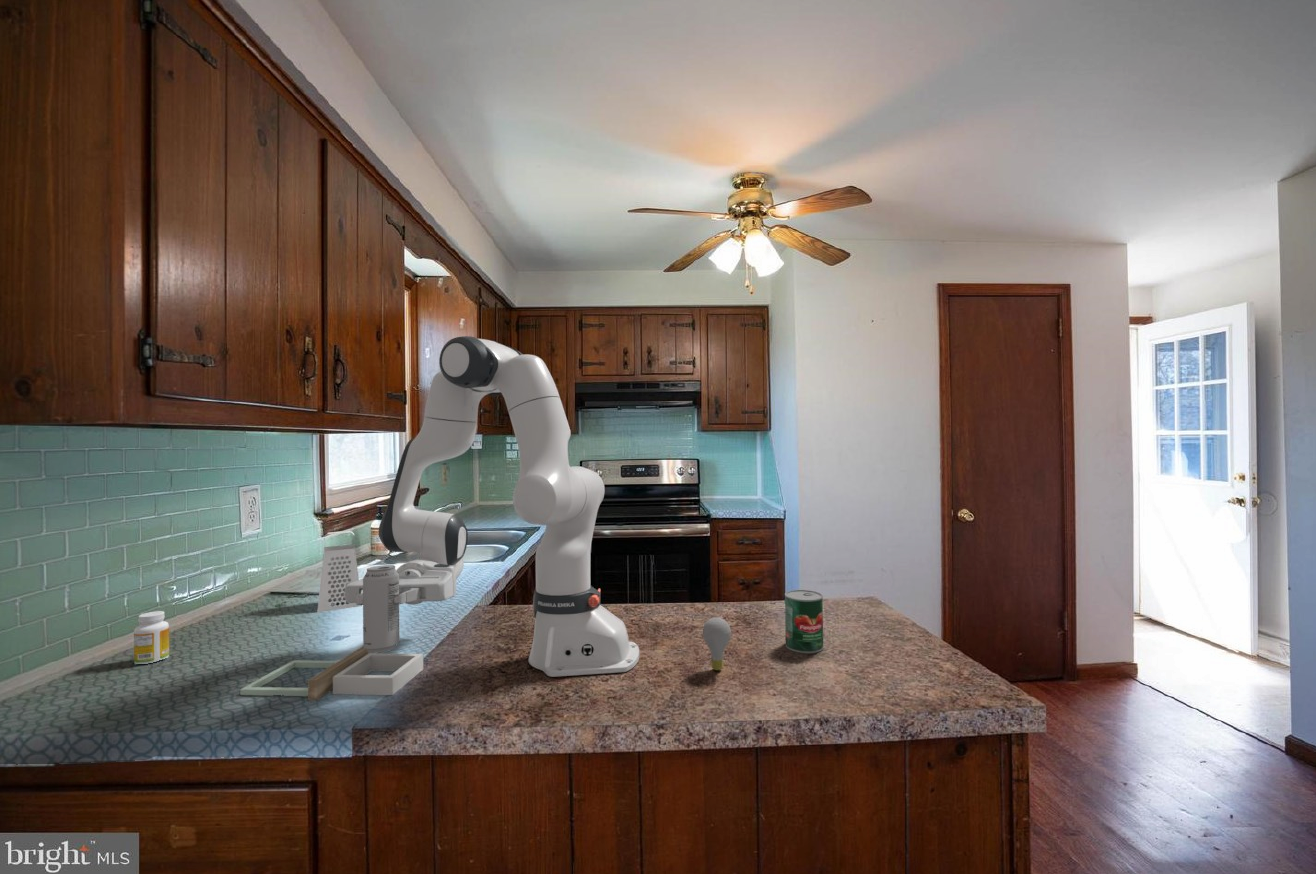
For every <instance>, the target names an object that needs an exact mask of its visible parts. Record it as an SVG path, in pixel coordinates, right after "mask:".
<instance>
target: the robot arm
mask: <svg viewBox="0 0 1316 874" xmlns="http://www.w3.org/2000/svg"><path fill="white" fill-rule="evenodd" d="M438 361H439V362H438V363H439V369H440V370H439V371H438V372H436V374H435V375H434V376H433V378H432V380H431V384H430V386H429V391H428V393H427V394H428V395H427V397H426V402H425V403H426V404H425V407H424V408H425V409H424V417H423V422H422V426H421V429H420V430H419V432H418V434H417V435H416V436H415V437H413V438H411V439H410V440H409V441H407V443H406V445H405V446H404V448H403V449H404V450H403V451H402V454H401V457H400V462H399V464H398V467H397V472H396V474H395V478H394V482H393V486H392V489H391V493H390V496H389V500H388V504H387V506H386V509H385V511H384V513H383V515H382V517H381V519H380V523H379V527H378V533H377V535H378V539H379V540H380V542H381V543H382V545H383V546H384V547H385V548H386V550H388V551H389V552H393V553H414V554H420V555H419V557H417V558H415V559H413V560H410V561H408V562H405V563H403V564H402V565H400V566H399V567H398V568H396V571H397V572H398V574H399V593H398V594H396V595H394V604H399V605H404V604H407V605H410V606H411V605H413V606H414V605H419V604H421V603H423V602H424V603H427V602H442V601H443V602H444V601H446V600H448V599H451V598H454V597H455V596H456V594H457V580H458V579H459V577H460V575H462V572H463V569H464V564H465V563H464V562H465V561H464V558H463V557H464V555H465V552H466V549H467V545H468V539H469V538H468V537H469V536H468V535H469V533H468V529H467V526H466V524H465V522H464V520H463V519H462V517H460V516H459V514H455V513H450V512H449V513H448V512H443V511H433V510H432V511H431V510H426V509H425V510H424V509H417V508H416V507H415V506H414V505H415V504H414V502H415V498H416V494H417V490H418V487H419V484H420V481H421V477H422V474H423V472H424V470H425V469H426V468H427V467H429V466H431V465H432V464H436V463H439V462H442V461H447V460H451V459H454V458H457V457H459V456H461V455H463V454H465V453H466V452H467V451H468V450H469V449H470V448H471V447H472V445H473V444H474V440H475V437H476V434H477V433H476V432H477V424H478V423H477V421H478V414H479V405H480V403H481V401H482V399H483V398H484V397H485V396H486V395H488V396H489V397H491V398H493V397H497V396H502V397H503V398H504V401H505V405H506V408H507V412H508V415H509V419H510V422H511V426H512V428H513V432H514V436H515V439H516V443H517V447H518V454H519V476H518V480H517V483H516V485H515V487H514V489H513V493H512V504H513V508H514V511H515V513H516V514H517V516H518V517H519V518H520V519H521V520H523V522H526V523H528V524H530V525H538V526H545V529H544V534H543V537H542V538H541V542H540V543H539V545H538V546H537V548H536V551H535V552H536V553H535V589H534V591H533V599H532V603H533V604H532V607H533V608H532V609H533V617H534V629H533V630H534V631H533V637H532V638H533V639H532V644H531V649H530V652H529V653H530V654H529V656H528V659H527V660H528V663H529V665H530V666H531V667H533V668H535V669H537V670H539V671H543V673H544V674H545V675H546V676H548V677H550V678H551V677H553V678H554V677H567V676H568V677H569V676H584V675H599V674H600V675H601V674H616V673H626V672H628V671H631V670H632V669H633V668H634V667H635V666H636V665H637V664H638V662H639V660H640V647H639V645H638V644H637V643H635V642H634V641H630V640H629V639H630V638H629V635H628V629H627V626H626V625H625V623H624V621H623V620H622V619H621V618H619V617H618V616H616V615H615V614H613V613H612V612H610V610H608V609H607V608H605V607H604V606H602V605H601V598H602V597H601V588H598V589H596V588H594V586H592V585H591V553H592V543H593V542H592V541H593V536H594V530H595V525H596V520H597V516H598V512H599V508H600V505H601V504H602V502H603V500H604V497H605V489H606V488H605V483H604V481H603V479H602V477H601V476H600V475H599V474H598V473H597V472H596V471H594V470H592V469H589V468H586V467H585V466H584V467H583V466H580V465H576V466H575V465H574V466H571V465H570V461H569V448H568V447H569V441H570V438H571V433H572V432H571V431H572V430H571V429H570V428H571V427H570V426H569V421H568V419H567V416H566V412H565V409H564V405H563V403H562V400H561V397H560V394H559V390H558V387H557V386H556V383H555V381H554V378H553V377H552V374H551V372H550V371H549V369H548V367H547V365H546V362H544V360H543V358H540V357H539V356H537V355H535V354H527V353H526V354H523V353H522V352H520V351H519V350H517V349H516V348H514V347H512V346H506V345H504V344H502V343H499V342H497V341H494V340H489V339H484V338H477V337H475V336H470V335H467V336H457V337H454V338H452V339H450V340H448V341H447V342H446V343H445V344H444V345H443V347H442V348H441V351H440V354H439V359H438ZM344 600H346V603H347V604H349V603H356V605H362V606H363V578H361V579H359V580H357V581H354V582H351V583H349V584H347V585H346V587H345V599H344Z"/></svg>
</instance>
